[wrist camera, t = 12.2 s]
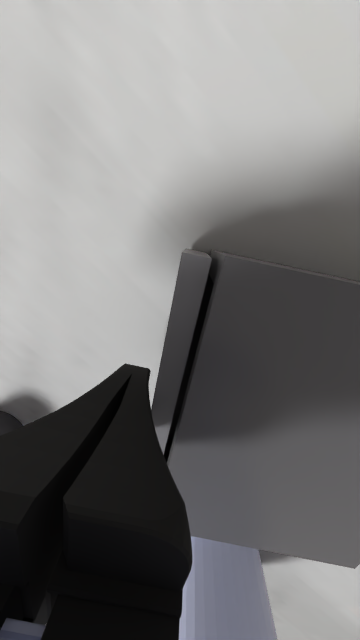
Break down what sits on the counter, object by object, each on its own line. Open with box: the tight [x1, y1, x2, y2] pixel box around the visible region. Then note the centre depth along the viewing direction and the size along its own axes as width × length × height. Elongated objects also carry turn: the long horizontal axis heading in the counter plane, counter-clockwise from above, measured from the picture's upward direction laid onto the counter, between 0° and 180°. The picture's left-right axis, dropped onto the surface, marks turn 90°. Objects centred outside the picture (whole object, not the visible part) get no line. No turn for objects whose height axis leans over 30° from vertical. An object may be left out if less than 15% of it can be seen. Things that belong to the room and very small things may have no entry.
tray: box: [151, 249, 212, 455], centre depth 11 cm, size 11×14×4 cm
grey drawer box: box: [164, 250, 360, 569], centre depth 11 cm, size 11×14×5 cm
